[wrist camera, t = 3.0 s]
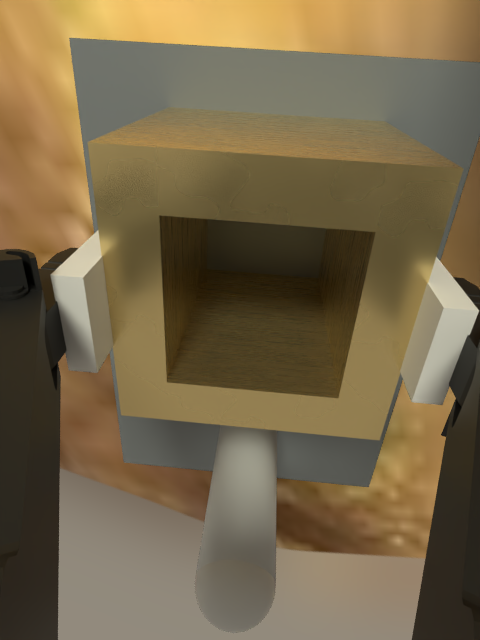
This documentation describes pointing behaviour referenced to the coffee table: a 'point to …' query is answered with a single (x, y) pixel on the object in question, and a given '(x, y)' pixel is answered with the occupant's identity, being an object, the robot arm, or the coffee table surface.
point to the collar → (266, 289)
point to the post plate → (264, 265)
